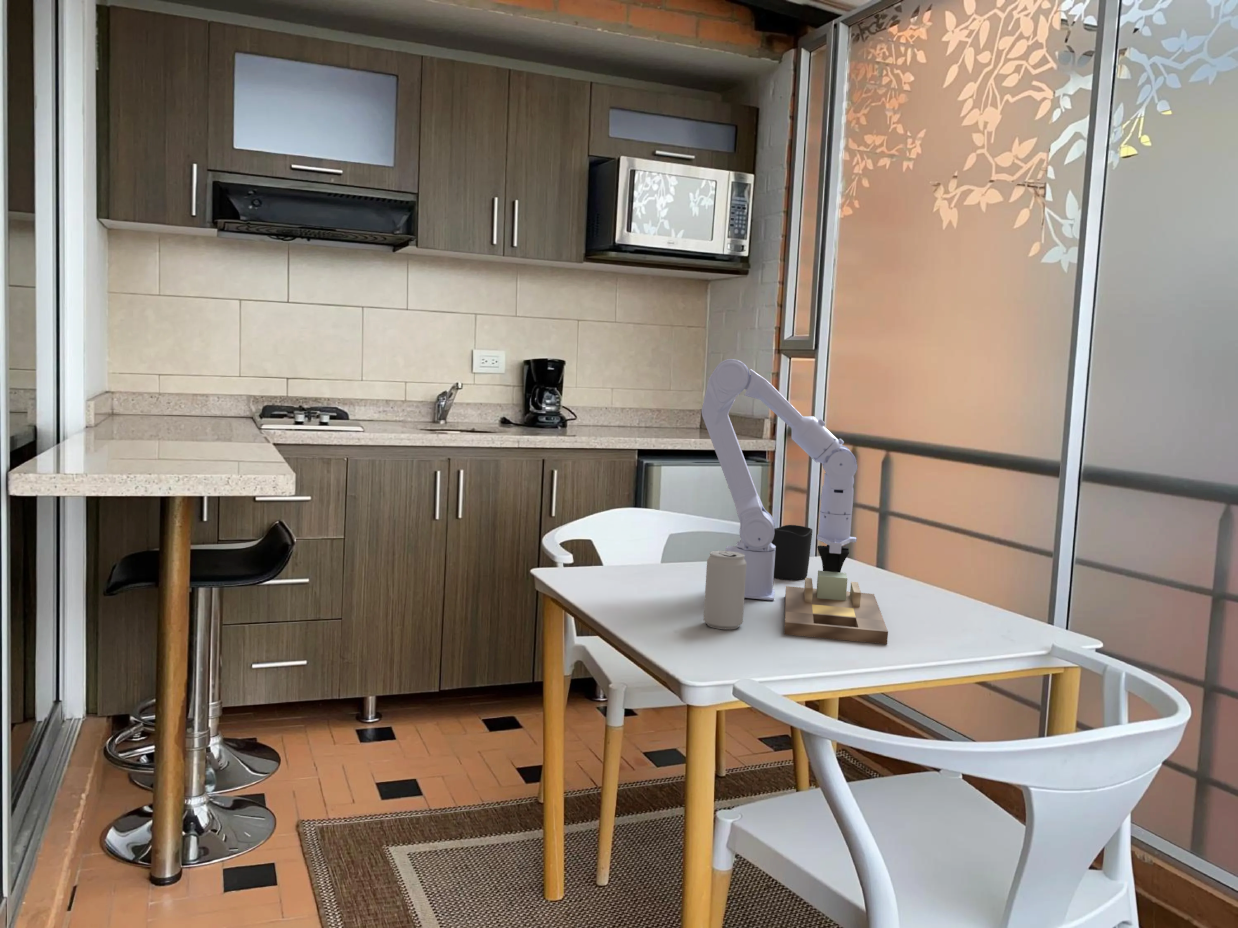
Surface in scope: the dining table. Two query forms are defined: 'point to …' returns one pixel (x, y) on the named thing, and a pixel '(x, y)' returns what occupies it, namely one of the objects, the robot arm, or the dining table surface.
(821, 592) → the block
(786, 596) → the deck
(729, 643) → the dining table surface
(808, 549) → the pen holder
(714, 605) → the beverage can
